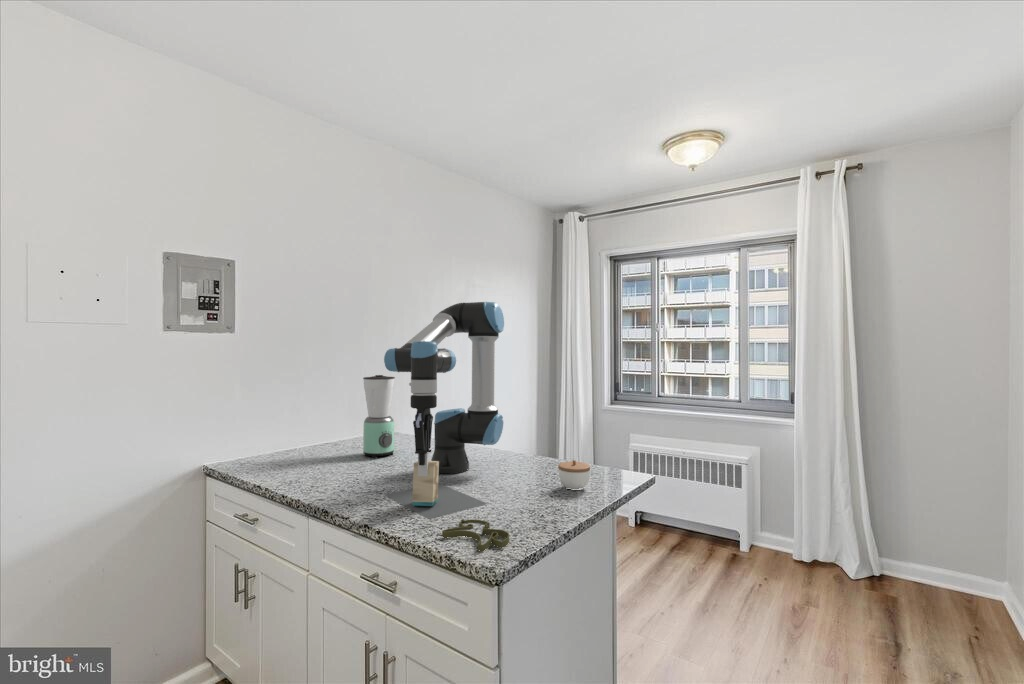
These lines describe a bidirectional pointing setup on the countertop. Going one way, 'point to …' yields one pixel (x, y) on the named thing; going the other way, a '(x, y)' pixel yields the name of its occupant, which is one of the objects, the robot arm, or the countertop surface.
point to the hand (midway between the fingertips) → (423, 475)
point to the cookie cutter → (492, 532)
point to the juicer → (378, 416)
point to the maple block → (426, 485)
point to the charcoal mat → (446, 502)
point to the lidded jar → (574, 474)
